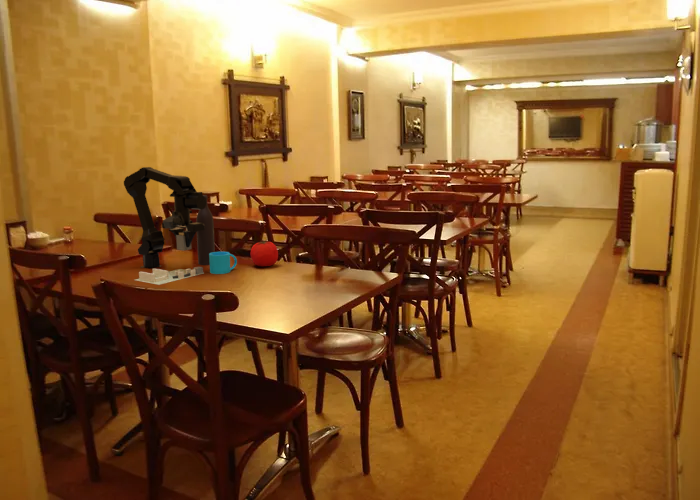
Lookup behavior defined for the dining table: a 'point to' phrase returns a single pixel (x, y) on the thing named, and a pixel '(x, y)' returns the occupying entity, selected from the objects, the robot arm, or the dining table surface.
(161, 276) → the holder
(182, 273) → the clamp and clips
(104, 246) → the dining table surface
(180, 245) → the block
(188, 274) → the cable
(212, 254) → the mug
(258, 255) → the tomato
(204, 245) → the wine bottle
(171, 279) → the board
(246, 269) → the dining table surface
